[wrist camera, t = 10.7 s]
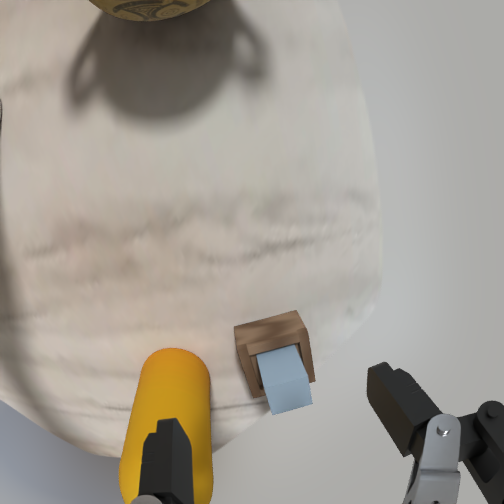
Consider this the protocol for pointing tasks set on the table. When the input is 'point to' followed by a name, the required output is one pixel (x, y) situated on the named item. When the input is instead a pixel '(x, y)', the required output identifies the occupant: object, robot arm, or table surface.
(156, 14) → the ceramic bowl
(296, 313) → the walnut base
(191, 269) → the table surface
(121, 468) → the beer bottle
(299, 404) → the lid block
